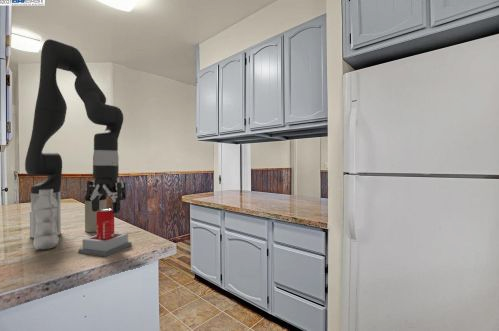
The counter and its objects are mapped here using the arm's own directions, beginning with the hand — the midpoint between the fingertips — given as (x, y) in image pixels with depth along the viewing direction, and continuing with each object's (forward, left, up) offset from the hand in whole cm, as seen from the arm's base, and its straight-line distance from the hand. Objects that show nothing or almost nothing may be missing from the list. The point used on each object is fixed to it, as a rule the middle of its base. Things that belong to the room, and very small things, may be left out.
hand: (105, 212), depth 86 cm
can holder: (0, 0, -12) cm, 12 cm away
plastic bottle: (-19, -6, -13) cm, 24 cm away
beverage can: (0, 0, -11) cm, 11 cm away
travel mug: (-24, +18, -13) cm, 32 cm away
